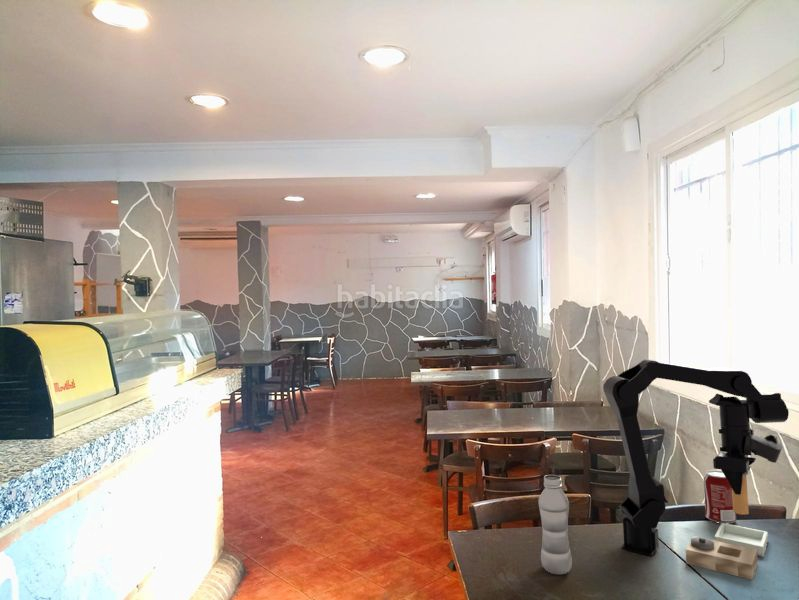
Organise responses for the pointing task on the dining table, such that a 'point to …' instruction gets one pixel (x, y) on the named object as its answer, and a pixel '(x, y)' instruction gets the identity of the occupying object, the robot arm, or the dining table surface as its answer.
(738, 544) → the tray
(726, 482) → the soda can
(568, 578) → the dining table surface
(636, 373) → the robot arm
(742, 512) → the pin
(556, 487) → the plastic bottle
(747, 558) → the block
